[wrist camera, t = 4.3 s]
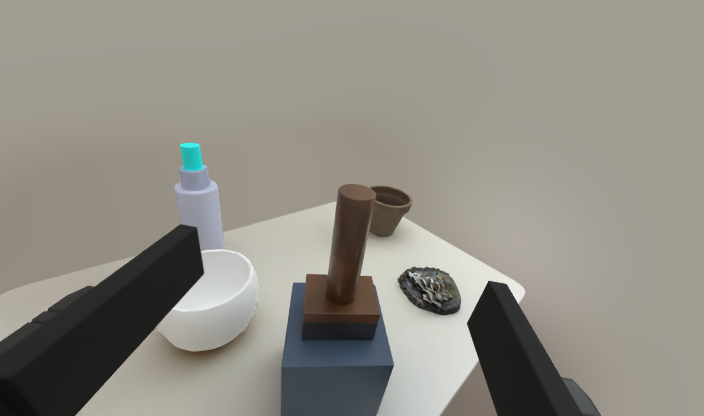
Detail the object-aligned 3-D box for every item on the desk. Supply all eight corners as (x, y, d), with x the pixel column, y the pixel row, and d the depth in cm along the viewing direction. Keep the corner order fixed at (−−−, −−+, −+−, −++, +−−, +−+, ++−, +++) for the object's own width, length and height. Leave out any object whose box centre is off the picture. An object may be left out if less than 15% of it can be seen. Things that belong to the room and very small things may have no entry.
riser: (360, 345, 38) (375, 284, 32) (371, 429, 29) (394, 365, 24) (290, 345, 37) (293, 282, 31) (280, 434, 28) (281, 367, 22)
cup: (269, 296, 44) (268, 250, 39) (244, 372, 33) (239, 320, 28) (191, 291, 42) (181, 242, 38) (139, 368, 31) (117, 312, 27)
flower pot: (412, 235, 67) (422, 200, 62) (380, 248, 60) (388, 210, 55) (382, 214, 74) (389, 182, 70) (350, 223, 68) (355, 188, 63)
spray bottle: (220, 247, 53) (207, 139, 42) (229, 265, 49) (217, 150, 38) (186, 256, 49) (162, 140, 39) (192, 276, 45) (168, 152, 35)
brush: (366, 300, 30) (392, 182, 23) (373, 340, 26) (408, 210, 19) (304, 299, 29) (313, 175, 22) (301, 340, 25) (311, 202, 18)
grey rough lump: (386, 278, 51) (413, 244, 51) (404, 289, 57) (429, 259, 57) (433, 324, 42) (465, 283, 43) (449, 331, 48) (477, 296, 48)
